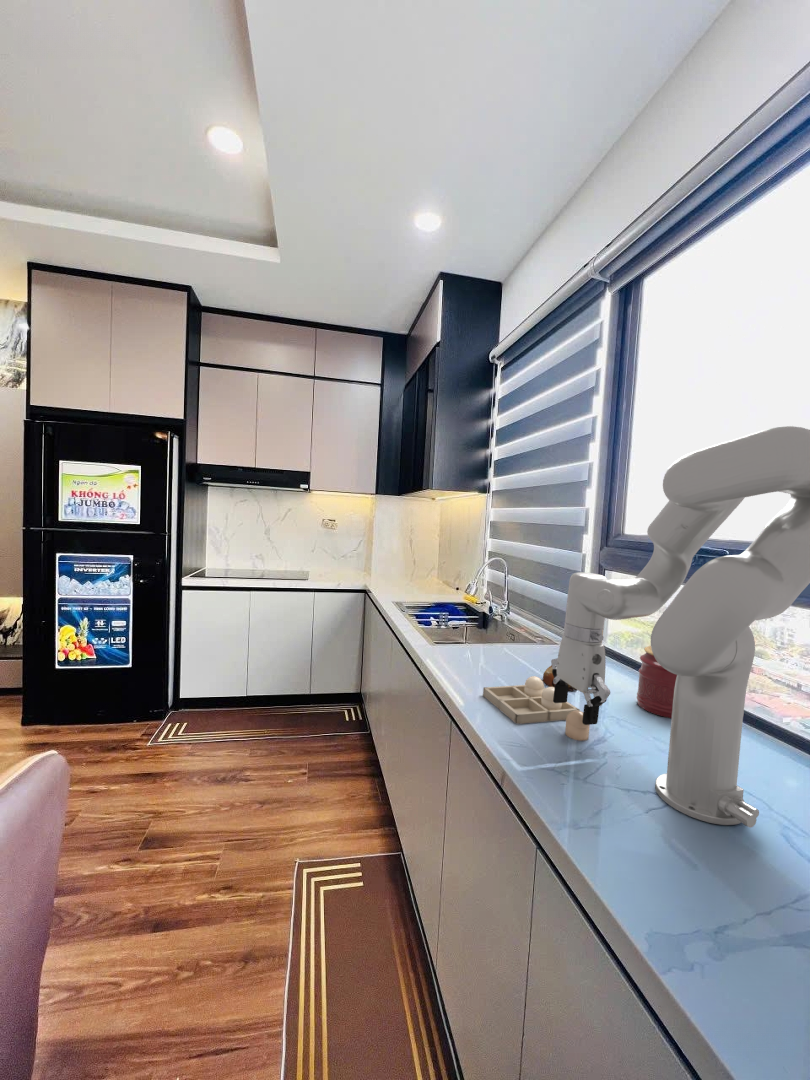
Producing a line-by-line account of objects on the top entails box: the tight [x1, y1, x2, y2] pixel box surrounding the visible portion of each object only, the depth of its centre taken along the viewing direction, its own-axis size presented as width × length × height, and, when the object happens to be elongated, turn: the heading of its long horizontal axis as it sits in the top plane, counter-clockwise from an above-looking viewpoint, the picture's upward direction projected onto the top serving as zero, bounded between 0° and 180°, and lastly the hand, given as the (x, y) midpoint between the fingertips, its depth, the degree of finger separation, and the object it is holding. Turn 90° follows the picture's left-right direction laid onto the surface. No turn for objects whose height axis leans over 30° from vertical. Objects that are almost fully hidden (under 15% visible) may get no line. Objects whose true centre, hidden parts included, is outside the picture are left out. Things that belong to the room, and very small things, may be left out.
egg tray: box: [482, 684, 581, 725], centre depth 109 cm, size 16×16×3 cm
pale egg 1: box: [524, 675, 545, 697], centre depth 113 cm, size 5×5×6 cm
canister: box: [636, 645, 677, 719], centre depth 113 cm, size 13×13×18 cm
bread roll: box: [542, 664, 578, 692], centre depth 126 cm, size 10×10×8 cm
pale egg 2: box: [541, 686, 562, 710], centre depth 107 cm, size 5×5×6 cm
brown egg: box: [564, 710, 591, 742], centre depth 95 cm, size 5×5×6 cm
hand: (574, 712), depth 96 cm, fingers open, 9 cm apart
